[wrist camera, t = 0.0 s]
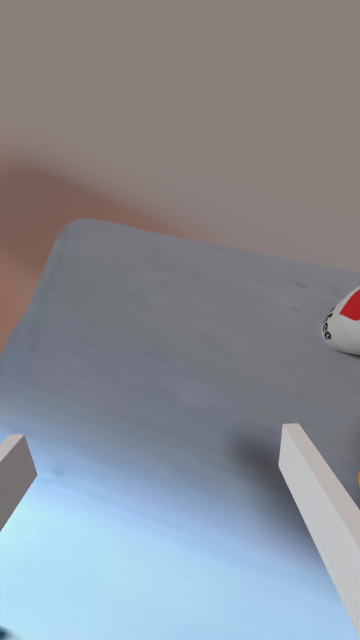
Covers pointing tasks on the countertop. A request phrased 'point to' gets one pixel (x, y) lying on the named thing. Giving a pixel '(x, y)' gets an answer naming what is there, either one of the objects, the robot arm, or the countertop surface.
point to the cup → (344, 325)
